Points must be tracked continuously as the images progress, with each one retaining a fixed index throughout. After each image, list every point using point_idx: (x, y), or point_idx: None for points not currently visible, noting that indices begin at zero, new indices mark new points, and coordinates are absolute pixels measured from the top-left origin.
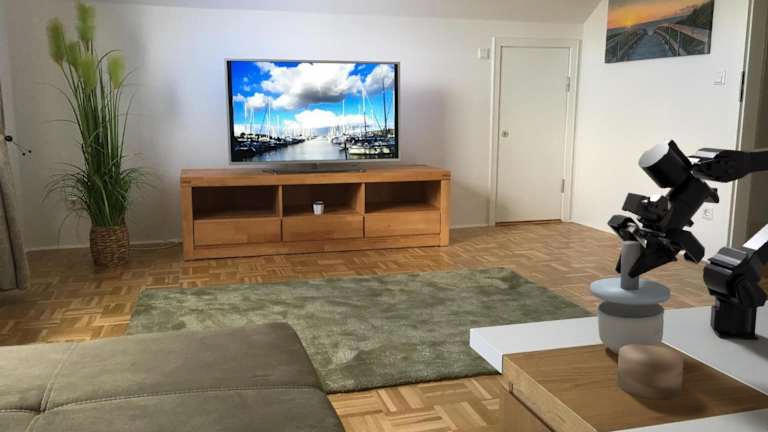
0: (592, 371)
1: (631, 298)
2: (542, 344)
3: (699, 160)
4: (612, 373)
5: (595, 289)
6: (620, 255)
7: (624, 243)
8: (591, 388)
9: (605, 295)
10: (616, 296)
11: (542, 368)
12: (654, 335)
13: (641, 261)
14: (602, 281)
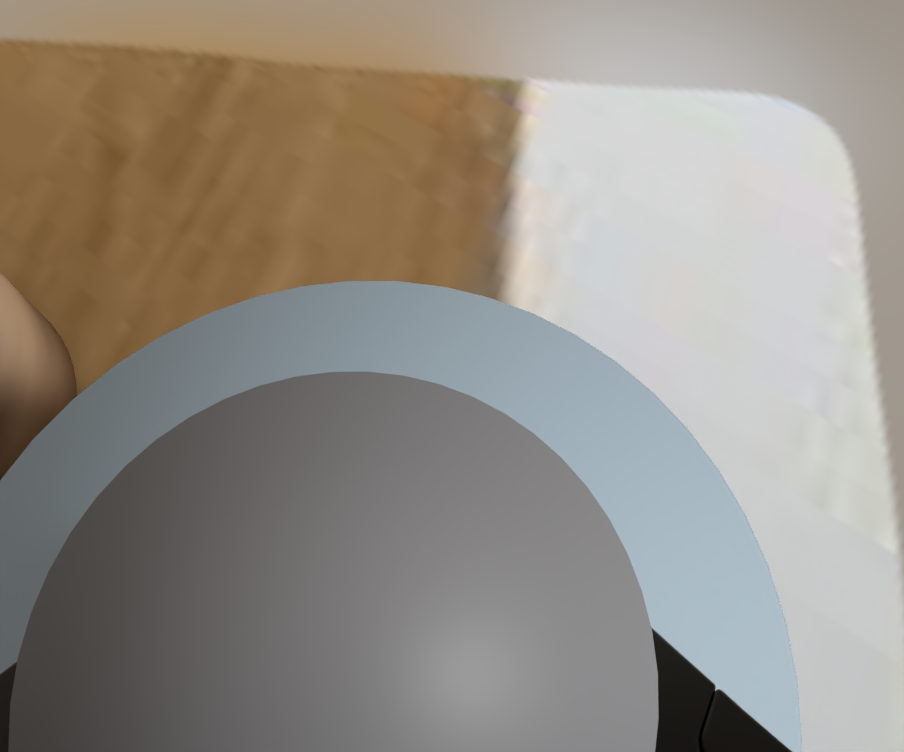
0: (193, 287)
1: (62, 423)
2: (573, 270)
3: None
4: (128, 353)
5: (468, 316)
6: (657, 648)
7: (369, 407)
8: (55, 184)
9: (285, 293)
10: (191, 342)
11: (322, 130)
12: None
13: (9, 670)
14: (694, 548)
